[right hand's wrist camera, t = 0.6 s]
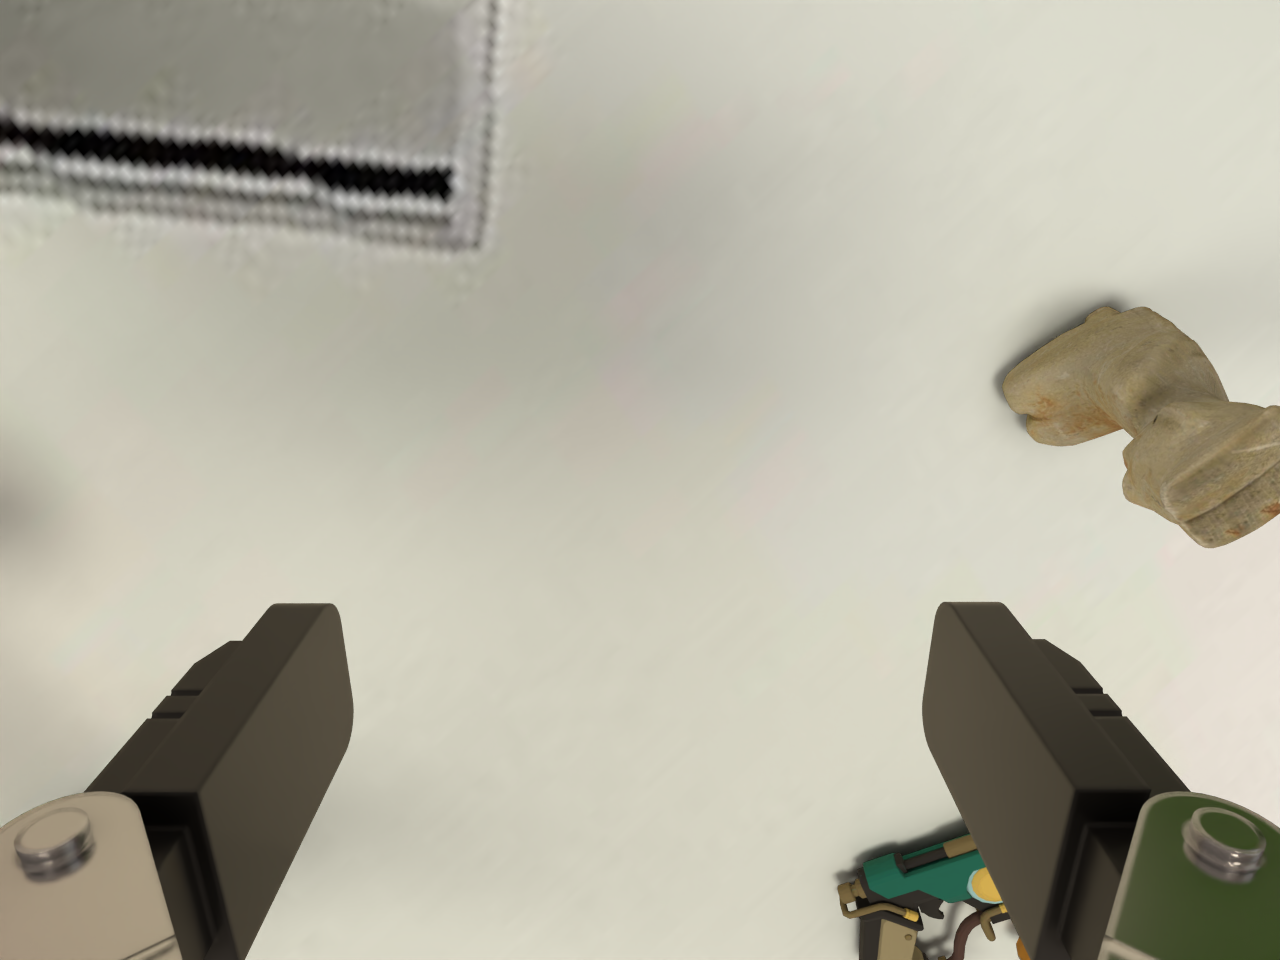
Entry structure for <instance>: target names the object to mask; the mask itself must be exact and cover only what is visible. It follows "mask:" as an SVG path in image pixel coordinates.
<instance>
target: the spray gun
mask: <svg viewBox="0 0 1280 960" xmlns="http://www.w3.org/2000/svg"><path fill="white" fill-rule="evenodd" d="M858 876H859V878H858V879H856V880H855V884H853V885H851V883H849V882H847V883H844V884H841V885H838V893H839V896H840V906H841V909H842V912H843V916H845V917H847V918H849V919H851V918H856V917H859V918H860V919H861V922H860V945H859V960H928V958H927V956H926V955H925V953H923V952H921V951H920V950H919V949H918V948H917V947H916V946H915V942H916V937H917V932H918V931H922V930H923V929H924V927H923V923H922V919H921V916H920V912H919V909H918V906H919V907H920V910H921V912H922V913H925V914H926V915H928V916H929V917H932V918H936V919H943V918H944V915H943V912H941V911H940V910H939V907H940V905H941V904H942V902H943V900H944V901H946V902H948V903H954V902H958V901H963V902H965V903H967V904H969V905H971V906H973V907H975V908H976V910H977V912H974V913H972V914H971V915H969V916H968V917H967V918H965V919H964V920H963V921H962V923H961V924H960V926H959V928H958V929H957V931H956V935H955V939H954V950H953V954H952V956H951V957H949V958H948V959H946V957H945V956H941V957H938V960H963V959H964V953H965V944H966V941H967V938H968V935H969V933H970V932H971V930H972V929H973V928H974V927H976V926H977V925H979V924H981V927H982V929H983V931H984V933H985V935H986V937H987V939H988V940H990V941H994V940H995V939H996V937H995V934H994V931H993V928H992V925H991V923H990V922H991V921H992V923H993V924H995V923H998V922H1001V921H1004V920H1008V919H1011V918H1010V916H1009V914H1008V912H1007V910H1006V908H1005V905H1004V903H1003V901H1002V899H1001V897H1000V895H999V893H998V891H997V889H996V887H995V885H994V883H993V880H992V878H991V876H990V874H989V872H988V870H987V868H986V866H985V864H984V862H983V860H982V858H981V855H980V853H979V851H978V849H977V847H976V845H975V843H974V841H973V839H972V837H971V835H970V833H969V834H966V835H963V836H960V837H957V838H954V839H951V840H948V841H946V842H943V843H940V844H937V845H934V846H931V847H928V848H925V849H922V850H919V851H916V852H913V853H910V854H907V855H904V856H901V854H900V853H897V854H895V853H891V854H888V855H885V856H882V857H879V858H876V859H873V860H870V861H867V862H864V863H863V868H860V869H858ZM853 901H856V906H857V910H854V911H851V912H850V911H848V908H847V905H846V904H847V903H850V902H853ZM1016 947H1017V953H1018V957H1019V959H1020V960H1030V958H1029V956H1028V953H1027V951H1026V949H1025V947H1024V945H1023V943H1022V941H1021V939H1020V937H1019V939H1018V941H1017V943H1016Z"/></svg>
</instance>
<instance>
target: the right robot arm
mask: <svg viewBox="0 0 1280 960" xmlns="http://www.w3.org/2000/svg"><path fill="white" fill-rule="evenodd" d="M171 692H172V693H171V696H166V697H165V698H164V700H163V701H162V702H161V703H160V704H159V705H158V707H157V708H156V709H155V710H154V711H153V712H152V718H151V719H146V721H145V722H144V723H143V724H142V725H141V726H140V727H139V729H138V730H137V731H136V732H135V733H134V734H133V736H132V737H131V738H130V739H129V740H128V741H127V743H126V744H125V745H124V746H123V747H122V748H121V750H120V751H119V752H118V753H117V754H116V755H115V757H114V758H113V759H112V760H111V761H110V762H109V764H108V765H107V766H106V767H105V768H104V769H103V771H102V772H101V773H100V774H99V775H98V776H97V778H96V779H95V780H94V781H93V782H92V783H91V784H90V786H89V787H88V788H87V789H86V790H85V791H84V793H78V794H74V795H70V796H65V797H62V798H59V799H56V800H53V801H50V802H47V803H45V804H42V805H40V806H37V807H35V808H33V809H31V810H29V811H27V812H25V813H23V814H21V815H20V816H18V817H16V818H15V819H13V820H11V821H10V822H8V823H7V824H5V825H4V826H3V827H1V828H0V960H245V958H246V956H247V954H248V952H249V950H250V948H251V946H252V944H253V942H254V940H255V937H256V935H257V933H258V931H259V929H260V927H261V925H262V923H263V921H264V919H265V917H266V915H267V913H268V911H269V909H270V907H271V904H272V902H273V900H274V898H275V896H276V894H277V892H278V890H279V888H280V886H281V884H282V882H283V880H284V878H285V876H286V874H287V872H288V869H289V867H290V865H291V863H292V861H293V859H294V857H295V855H296V853H297V851H298V849H299V847H300V845H301V843H302V841H303V839H304V837H305V834H306V832H307V830H308V828H309V826H310V824H311V822H312V820H313V818H314V816H315V814H316V812H317V810H318V808H319V806H320V804H321V802H322V799H323V797H324V795H325V793H326V791H327V789H328V787H329V785H330V783H331V781H332V779H333V777H334V775H335V773H336V771H337V769H338V766H339V764H340V762H341V760H342V758H343V756H344V754H345V752H346V750H347V747H348V744H349V741H350V737H351V732H352V726H353V698H352V691H351V684H350V678H349V671H348V665H347V658H346V651H345V645H344V638H343V631H342V625H341V619H340V615H339V612H338V610H337V608H336V607H335V605H333V604H331V603H277V604H273V605H272V606H270V607H269V608H268V610H267V611H266V612H265V613H264V615H263V616H262V617H261V618H260V619H259V621H258V622H257V623H256V624H255V626H254V627H253V628H252V629H251V631H250V632H249V633H248V634H247V636H246V637H245V638H244V639H243V641H229V642H227V643H226V644H224V645H223V646H221V647H220V648H218V649H217V650H215V651H213V652H212V653H210V654H209V655H207V656H206V657H204V658H202V659H201V660H199V661H198V662H196V663H195V664H194V665H193V666H192V667H191V668H190V669H189V671H188V672H187V673H186V674H185V675H184V676H183V677H182V679H181V680H180V681H179V682H178V683H177V684H176V686H175V687H174V688H173V689H172V690H171ZM922 716H923V726H924V732H925V737H926V741H927V744H928V747H929V749H930V751H931V753H932V755H933V757H934V760H935V762H936V764H937V766H938V768H939V770H940V772H941V774H942V776H943V778H944V780H945V782H946V785H947V787H948V789H949V791H950V793H951V795H952V797H953V799H954V801H955V803H956V805H957V807H958V810H959V812H960V814H961V816H962V818H963V820H964V822H965V824H966V826H967V828H968V830H969V833H970V835H971V837H972V839H973V841H974V843H975V845H976V847H977V849H978V851H979V853H980V855H981V858H982V860H983V862H984V864H985V866H986V868H987V870H988V872H989V874H990V876H991V878H992V880H993V883H994V885H995V887H996V889H997V891H998V893H999V895H1000V897H1001V899H1002V901H1003V903H1004V905H1005V908H1006V910H1007V912H1008V914H1009V916H1010V918H1011V920H1012V922H1013V924H1014V926H1015V928H1016V930H1017V933H1018V935H1019V937H1020V939H1021V941H1022V943H1023V945H1024V947H1025V949H1026V951H1027V953H1028V956H1029V958H1030V960H1280V828H1279V827H1277V826H1276V825H1275V824H1273V823H1272V822H1270V821H1269V820H1267V819H1265V818H1264V817H1262V816H1260V815H1259V814H1257V813H1255V812H1253V811H1251V810H1249V809H1247V808H1245V807H1243V806H1240V805H1238V804H1235V803H1233V802H1230V801H1227V800H1224V799H1221V798H1218V797H1215V796H1210V795H1206V794H1202V793H1194V792H1191V791H1190V790H1189V789H1188V788H1187V787H1186V786H1185V784H1184V783H1183V782H1182V781H1181V780H1180V779H1179V777H1178V776H1177V775H1176V774H1175V773H1174V772H1173V770H1172V769H1171V768H1170V767H1169V766H1168V764H1167V763H1166V762H1165V761H1164V760H1163V759H1162V757H1161V756H1160V755H1159V754H1158V753H1157V752H1156V750H1155V749H1154V748H1153V747H1152V746H1151V745H1150V743H1149V742H1148V741H1147V740H1146V739H1145V737H1144V736H1143V735H1142V734H1141V733H1140V732H1139V730H1138V729H1137V728H1136V727H1135V726H1134V725H1133V723H1132V722H1131V721H1130V720H1129V719H1128V718H1127V716H1122V710H1121V709H1120V708H1119V707H1118V706H1117V705H1116V703H1115V702H1114V701H1113V700H1112V699H1111V698H1110V696H1109V695H1108V694H1103V688H1102V687H1101V686H1100V685H1099V683H1098V682H1097V681H1096V680H1095V679H1094V678H1093V676H1092V675H1091V674H1090V673H1089V672H1088V671H1087V669H1086V668H1085V667H1084V666H1083V665H1082V664H1081V662H1079V661H1078V660H1076V659H1075V658H1073V657H1072V656H1070V655H1069V654H1067V653H1065V652H1064V651H1062V650H1061V649H1059V648H1058V647H1056V646H1055V645H1053V644H1051V643H1050V642H1048V641H1047V640H1045V639H1032V638H1031V637H1030V636H1029V635H1028V633H1027V632H1026V631H1025V629H1024V628H1023V627H1022V626H1021V624H1020V623H1019V622H1018V621H1017V619H1016V618H1015V617H1014V616H1013V614H1012V613H1011V612H1010V611H1009V609H1008V608H1007V607H1006V606H1005V605H1004V604H1003V603H1001V602H943V603H942V604H940V606H939V607H938V609H937V612H936V615H935V620H934V627H933V633H932V640H931V647H930V654H929V660H928V667H927V674H926V681H925V687H924V694H923V702H922Z"/></svg>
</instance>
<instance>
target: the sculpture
mask: <svg viewBox="0 0 1280 960" xmlns="http://www.w3.org/2000/svg"><path fill="white" fill-rule="evenodd" d="M1002 389H1003V392H1004V395H1005V398H1006V400H1007V402H1008V404H1009V406H1010V408H1011V409H1012V410H1013V411H1014V412H1016V413H1018V414H1028V415H1027V420H1026V427H1027V432H1028V433H1029V435H1030V436H1031V437H1032V438H1033V439H1034V440H1035V441H1036V442H1038V443H1042V444H1047V445H1053V446H1073V445H1076V444H1079V443H1083V442H1086V441H1089V440H1092V439H1095V438H1098V437H1101V436H1104V435H1107V434H1109V433H1112V432H1115V431H1118V430H1120V429H1124V430H1125V431H1126V432H1128V433H1129V434H1130V435H1131V436H1132V437H1133V438H1134V439H1133V440H1132V441H1131V442H1130V443H1129V444H1128V445H1127V446H1126V447H1125V449H1124V450H1123V458H1124V463H1125V466H1126V468H1127V472H1126V474H1125V476H1124V479H1123V484H1122V487H1123V493H1124V496H1125V498H1126V499H1127V500H1128V501H1130V502H1132V503H1134V504H1137V505H1139V506H1142V507H1145V508H1148V509H1150V510H1153V511H1155V512H1156V513H1158V514H1159V515H1161V516H1162V517H1164V518H1166V519H1167V520H1169V521H1170V522H1173V523H1175V524H1178V525H1179V526H1180V527H1181V528H1182V529H1183V530H1184V531H1185V532H1186V533H1187V534H1188V535H1189V536H1190V537H1191V538H1192V539H1193V540H1194V541H1195V542H1196V543H1198V544H1199V545H1201V546H1203V547H1205V548H1216V547H1219V546H1223V545H1226V544H1228V543H1231V542H1233V541H1235V540H1237V539H1239V538H1241V537H1243V536H1245V535H1247V534H1249V533H1251V532H1253V531H1254V530H1256V529H1258V528H1260V527H1261V526H1263V525H1264V524H1266V523H1267V522H1268V521H1270V520H1271V519H1273V518H1274V517H1275V516H1277V515H1278V514H1279V513H1280V406H1277V405H1273V406H1269V407H1267V408H1263V407H1260V406H1257V405H1252V404H1247V403H1238V402H1229V400H1228V397H1227V395H1226V393H1225V390H1224V388H1223V386H1222V383H1221V381H1220V379H1219V376H1218V374H1217V373H1216V371H1215V369H1214V367H1213V365H1212V364H1211V363H1210V361H1209V360H1208V358H1207V357H1206V355H1205V354H1204V352H1203V351H1202V350H1201V348H1200V347H1199V345H1198V344H1197V343H1196V342H1195V341H1194V340H1192V339H1190V338H1189V337H1188V336H1187V335H1185V334H1184V333H1183V332H1182V331H1180V330H1179V329H1178V328H1177V327H1176V326H1175V325H1174V324H1173V323H1172V322H1170V321H1169V320H1167V319H1165V318H1163V317H1162V316H1161V315H1159V314H1158V313H1156V312H1154V311H1152V310H1151V309H1150V308H1147V307H1137V308H1134V309H1131V310H1128V311H1126V312H1123V313H1120V312H1119V311H1117V310H1114V309H1112V308H1110V307H1102V308H1099V309H1097V310H1095V311H1094V312H1092V313H1091V314H1089V315H1088V316H1087V317H1086V319H1085V323H1084V324H1082V325H1080V326H1078V327H1076V328H1074V329H1071V330H1069V331H1067V332H1065V333H1063V334H1062V335H1060V336H1058V337H1057V338H1055V339H1054V340H1052V341H1051V342H1049V343H1048V344H1046V345H1044V346H1043V347H1041V348H1040V349H1038V350H1037V351H1036V352H1034V353H1033V354H1032V355H1030V356H1029V357H1027V358H1026V359H1024V360H1023V361H1022V362H1020V363H1019V364H1018V365H1017V366H1016V367H1015V368H1013V369H1012V370H1011V371H1010V372H1009V373H1008V375H1007V376H1006V378H1005V380H1004V382H1003V385H1002Z"/></svg>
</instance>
